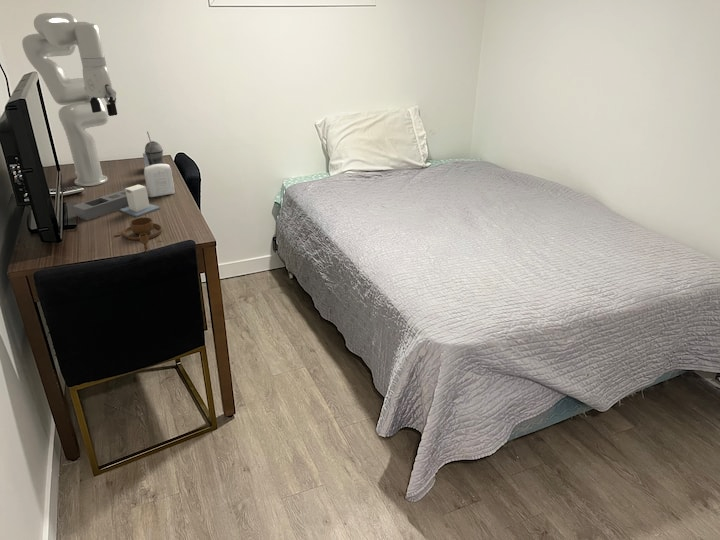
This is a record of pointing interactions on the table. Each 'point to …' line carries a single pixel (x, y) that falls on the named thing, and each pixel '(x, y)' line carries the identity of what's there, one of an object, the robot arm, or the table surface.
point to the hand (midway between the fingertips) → (105, 113)
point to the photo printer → (159, 180)
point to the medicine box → (145, 160)
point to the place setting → (141, 230)
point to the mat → (139, 213)
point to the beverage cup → (154, 152)
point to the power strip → (101, 205)
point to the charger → (137, 198)
